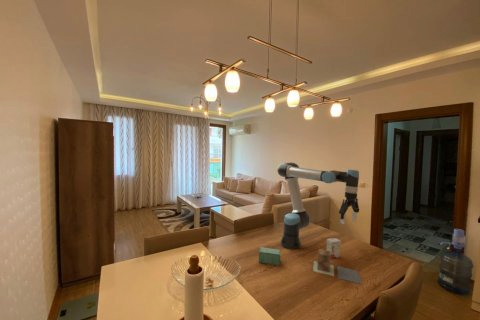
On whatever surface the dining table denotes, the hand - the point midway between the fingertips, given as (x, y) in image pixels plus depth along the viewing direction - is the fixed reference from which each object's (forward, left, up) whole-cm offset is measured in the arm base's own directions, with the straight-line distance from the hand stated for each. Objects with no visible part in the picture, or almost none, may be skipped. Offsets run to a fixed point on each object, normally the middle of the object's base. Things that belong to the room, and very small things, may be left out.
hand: (348, 222), depth 147 cm
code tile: (-14, -22, -25) cm, 36 cm away
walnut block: (-14, -22, -25) cm, 36 cm away
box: (-47, -29, -26) cm, 61 cm away
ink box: (-8, -2, -25) cm, 27 cm away
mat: (0, -23, -25) cm, 34 cm away
